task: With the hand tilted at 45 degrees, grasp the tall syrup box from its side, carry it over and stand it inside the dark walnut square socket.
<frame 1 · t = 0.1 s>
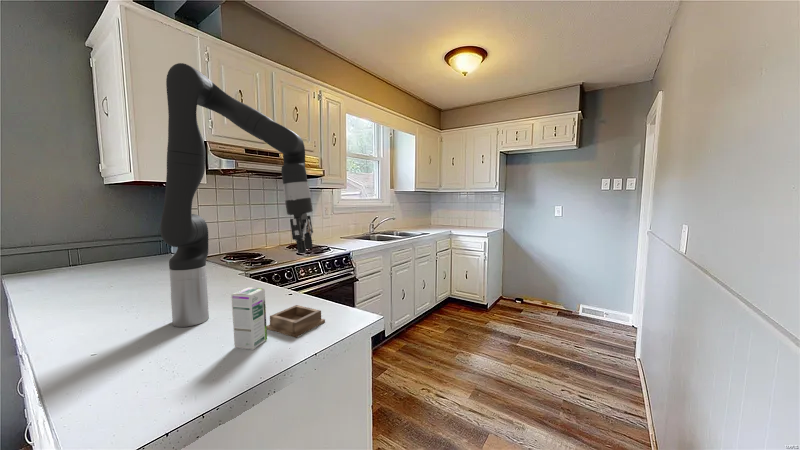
hand: (305, 250, 94), 22 cm above the worktop, tool pointing down, fingers open, 8 cm apart
syrup box: (250, 344, 81), on the worktop
walnut socket: (296, 325, 92), on the worktop
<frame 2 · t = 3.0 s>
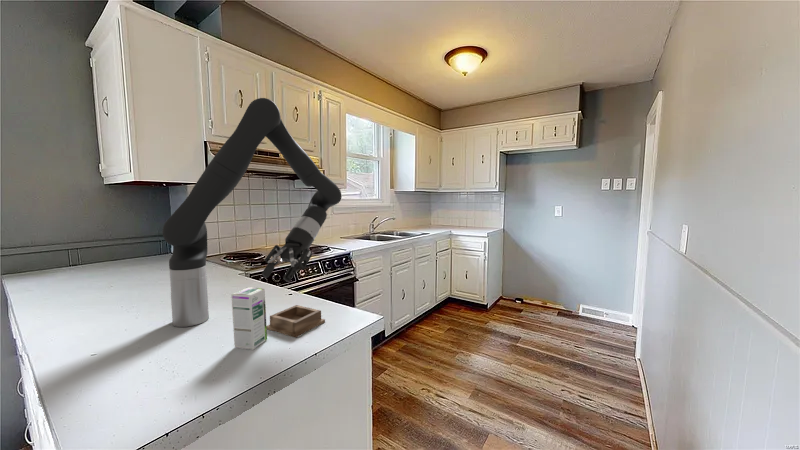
hand: (274, 278, 87), 16 cm above the worktop, tool tilted 45°, fingers open, 8 cm apart
nothing on the worktop moved.
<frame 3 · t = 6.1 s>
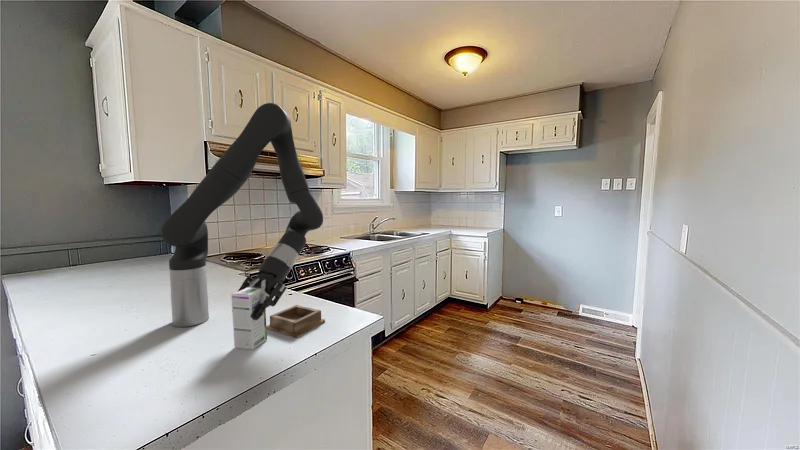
hand: (244, 315, 78), 8 cm above the worktop, tool tilted 45°, fingers closed on syrup box, 6 cm apart
syrup box: (250, 344, 81), on the worktop, touching gripper
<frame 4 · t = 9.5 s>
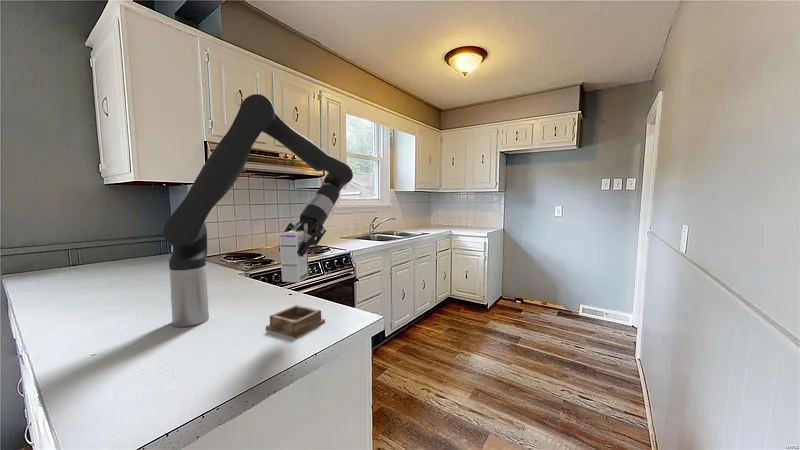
hand: (290, 253, 88), 22 cm above the worktop, tool tilted 45°, fingers closed on syrup box, 6 cm apart
syrup box: (295, 280, 91), point 14 cm above the worktop, touching gripper
when the fingers open (10 cm above the worktop, at t = 13.0 s): syrup box drops 1 cm, resting on walnut socket.
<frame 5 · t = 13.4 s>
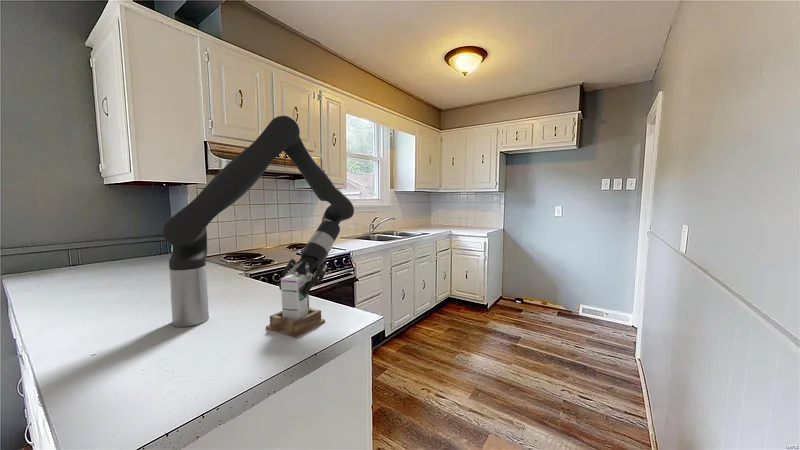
hand: (292, 292, 90), 11 cm above the worktop, tool tilted 45°, fingers open, 8 cm apart
syrup box: (296, 323, 92), point 1 cm above the worktop, touching walnut socket
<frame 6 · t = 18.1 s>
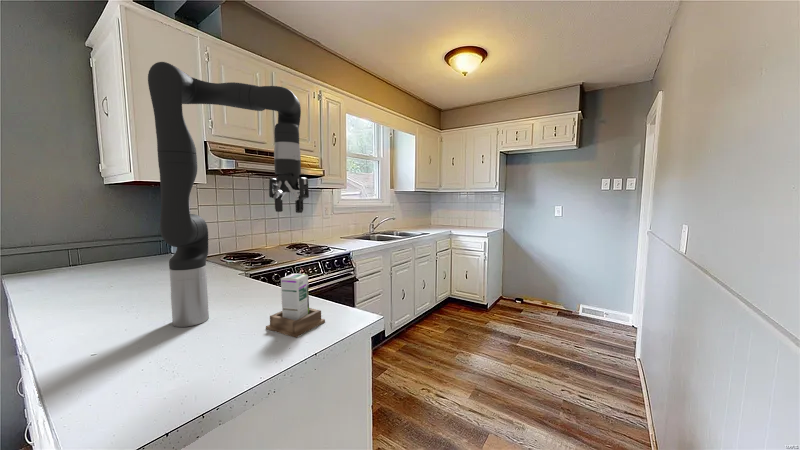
hand: (289, 212, 94), 34 cm above the worktop, tool pointing down, fingers open, 8 cm apart
nothing on the worktop moved.
at the end: syrup box 0.4 cm off-centre on the walnut socket, point 0.6 cm above the walnut socket's base; syrup box tilted 0°; the gripper is holding nothing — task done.
